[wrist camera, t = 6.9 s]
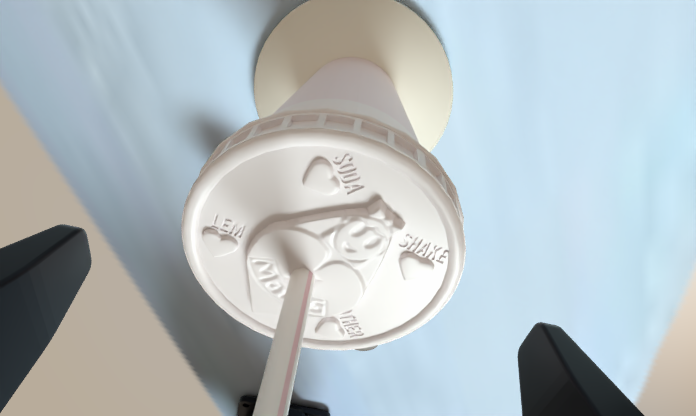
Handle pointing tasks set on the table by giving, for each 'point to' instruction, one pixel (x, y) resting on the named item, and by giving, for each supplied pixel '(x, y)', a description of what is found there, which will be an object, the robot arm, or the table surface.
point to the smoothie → (325, 224)
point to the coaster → (363, 42)
